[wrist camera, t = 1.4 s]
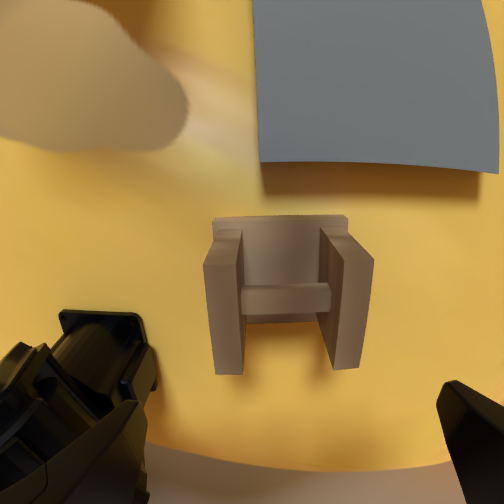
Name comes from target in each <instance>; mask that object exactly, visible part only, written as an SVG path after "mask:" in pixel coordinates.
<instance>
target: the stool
mask: <svg viewBox="0 0 504 504" xmlns="http://www.w3.org/2000/svg"><path fill="white" fill-rule="evenodd" d="M212 225H213V239H214V241H213V243H212V246H211V248H210V250H209V252H208V255H207V257H206V259H205V261H204V264H203V270H204V280H205V290H206V299H207V309H208V318H209V326H210V335H211V343H212V351H213V359H214V366H215V374H216V375H243V363H244V347H245V332H246V324H262V323H291V322H312V321H318V322H319V326H320V329H321V332H322V335H323V338H324V342H325V345H326V348H327V351H328V355H329V358H330V361H331V364H332V368H333V370H343V369H353V368H359V364H360V359H361V353H362V347H363V342H364V335H365V329H366V323H367V316H368V309H369V301H370V294H371V285H372V276H373V267H374V259H373V258H372V257H371V255H370V254H369V253H368V252H367V251H366V250H365V249H364V248H363V247H362V246H361V245H360V244H359V243H358V242H357V241H356V240H355V239H354V238H353V237H352V236H351V235H350V234H349V233H348V218H346V217H345V216H344V215H343V214H342V215H279V216H244V217H217V218H214V220H213V222H212Z"/></svg>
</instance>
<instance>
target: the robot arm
mask: <svg viewBox="0 0 504 504" xmlns="http://www.w3.org/2000/svg"><path fill="white" fill-rule="evenodd" d="M58 316H59V320H60V323H61V326H62V329H63V332H64V334H63V335H62V336H61V338H60V339H59V340H58V341H57V342H56V343H55V344H54V346H53V347H52V348H51V349H50V348H49V347H48V346H47V344H46V343H43V344H41V345H39V346H37V347H36V348H35V347H34V348H33V347H32V346H28V345H26V344H24V343H23V342H19V343H18V344H16V345H15V346H14V347H13V348H12V349H11V350H10V351H9V352H8V353H7V354H6V355H5V356H4V358H3V359H2V360H1V361H0V504H147V503H148V500H149V497H150V493H149V492H148V491H147V490H146V485H147V484H146V483H147V473H146V470H145V464H144V445H145V439H146V432H147V426H148V422H147V418H146V415H145V412H144V409H143V408H144V405H145V403H146V400H147V398H148V395H149V393H150V392H153V391H155V390H156V388H157V380H156V375H157V371H156V367H155V363H154V359H153V355H152V351H151V347H150V345H149V344H148V343H147V342H146V338H145V333H144V329H143V325H142V320H141V317H140V316H139V315H138V314H136V313H132V312H105V311H84V310H67V309H64V310H62V311H61V312H60V313H59V315H58ZM64 316H66V318H65V317H64ZM131 319H134V320H135V322H136V323H134V322H132V321H131ZM436 407H437V411H438V415H439V418H440V422H441V426H442V430H443V433H444V437H445V441H446V445H447V448H448V451H449V453H450V456H451V459H452V461H453V464H454V467H455V470H456V473H457V476H458V478H459V482H460V485H461V488H462V491H463V494H464V497H465V500H466V503H467V504H504V407H503V406H502V405H500V404H498V403H496V402H494V401H493V400H491V399H489V398H487V397H486V396H484V395H482V394H480V393H479V392H477V391H475V390H473V389H472V388H470V387H468V386H466V385H465V384H463V383H461V382H459V381H457V380H452V381H448V382H445V383H444V384H443V387H442V389H441V392H440V394H439V396H438V399H437V402H436Z"/></svg>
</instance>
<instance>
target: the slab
mask: <svg viewBox="0 0 504 504" xmlns="http://www.w3.org/2000/svg"><path fill="white" fill-rule="evenodd" d="M253 20H254V41H255V64H256V87H257V112H258V138H259V162H296V161H319V162H364V163H386V164H403V165H417V166H430V167H441V168H451V169H461V170H470V171H478V172H486V173H493V174H499V112H498V97H497V86H496V76H495V68H494V61H493V54H492V48H491V42H490V37H489V32H488V27H487V23H486V18H485V14H484V10H483V6H482V2H481V0H253Z"/></svg>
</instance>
